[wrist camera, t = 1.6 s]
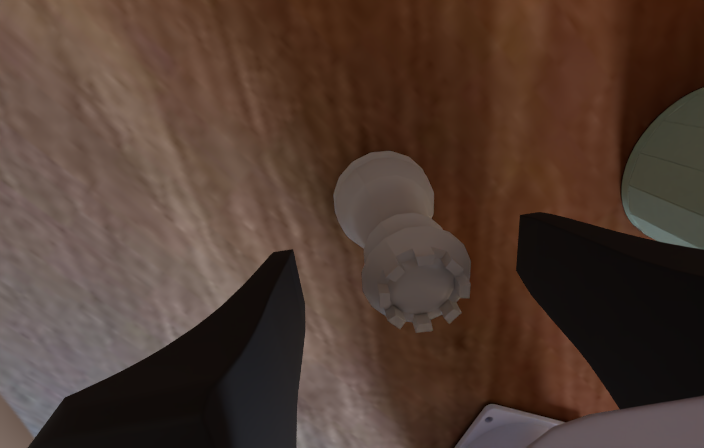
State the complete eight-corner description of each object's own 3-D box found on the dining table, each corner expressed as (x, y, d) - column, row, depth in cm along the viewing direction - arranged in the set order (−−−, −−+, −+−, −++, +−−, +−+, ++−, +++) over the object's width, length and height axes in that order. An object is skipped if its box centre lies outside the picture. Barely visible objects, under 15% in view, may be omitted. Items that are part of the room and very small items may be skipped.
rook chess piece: (312, 189, 17) (307, 288, 10) (392, 127, 16) (452, 184, 9) (370, 255, 19) (404, 382, 11) (445, 201, 18) (533, 302, 10)
